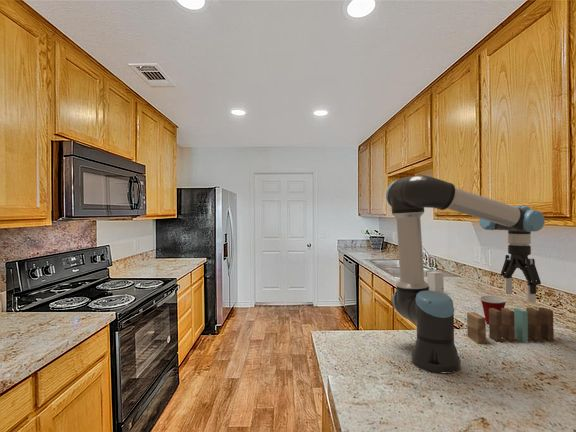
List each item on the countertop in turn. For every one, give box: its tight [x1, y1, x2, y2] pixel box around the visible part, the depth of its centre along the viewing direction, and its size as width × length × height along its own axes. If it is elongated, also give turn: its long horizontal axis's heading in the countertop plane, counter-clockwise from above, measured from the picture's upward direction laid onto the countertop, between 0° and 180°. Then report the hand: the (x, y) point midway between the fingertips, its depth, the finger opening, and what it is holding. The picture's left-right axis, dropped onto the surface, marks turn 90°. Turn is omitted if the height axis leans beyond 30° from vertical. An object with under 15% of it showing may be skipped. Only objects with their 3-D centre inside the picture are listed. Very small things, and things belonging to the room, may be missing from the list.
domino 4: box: [525, 307, 542, 343], centre depth 134 cm, size 2×5×12 cm, turn 179°
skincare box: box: [426, 270, 445, 294], centre depth 208 cm, size 8×6×15 cm
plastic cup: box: [479, 294, 508, 325], centre depth 154 cm, size 11×11×12 cm
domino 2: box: [501, 307, 516, 343], centre depth 135 cm, size 2×5×12 cm, turn 179°
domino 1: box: [488, 308, 503, 343], centre depth 135 cm, size 2×5×12 cm, turn 179°
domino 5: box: [538, 307, 555, 343], centre depth 134 cm, size 2×5×12 cm, turn 179°
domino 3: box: [513, 307, 529, 343], centre depth 135 cm, size 2×5×12 cm, turn 179°
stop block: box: [466, 311, 487, 345], centre depth 135 cm, size 3×8×10 cm, turn 179°
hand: (519, 297), depth 134 cm, fingers open, 13 cm apart
